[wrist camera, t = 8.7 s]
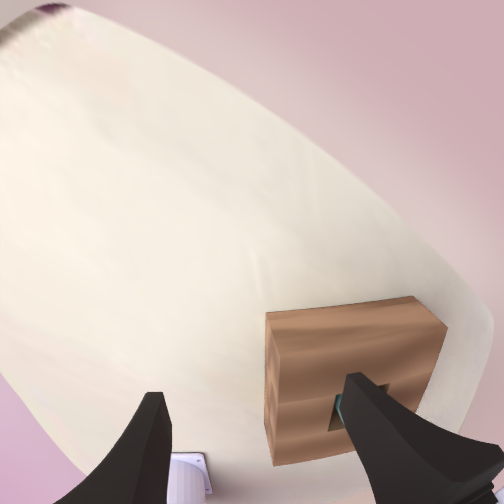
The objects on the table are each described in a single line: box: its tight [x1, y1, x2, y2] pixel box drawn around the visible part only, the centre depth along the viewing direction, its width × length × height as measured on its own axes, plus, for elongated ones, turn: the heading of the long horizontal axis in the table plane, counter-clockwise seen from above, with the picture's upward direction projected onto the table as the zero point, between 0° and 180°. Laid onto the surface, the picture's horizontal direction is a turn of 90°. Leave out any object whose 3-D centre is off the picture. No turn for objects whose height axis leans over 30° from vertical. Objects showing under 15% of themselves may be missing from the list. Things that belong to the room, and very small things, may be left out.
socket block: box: [264, 296, 448, 466], centre depth 22 cm, size 12×12×5 cm
